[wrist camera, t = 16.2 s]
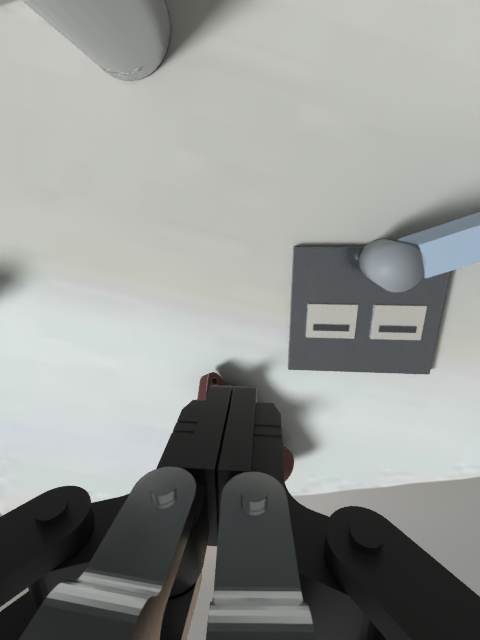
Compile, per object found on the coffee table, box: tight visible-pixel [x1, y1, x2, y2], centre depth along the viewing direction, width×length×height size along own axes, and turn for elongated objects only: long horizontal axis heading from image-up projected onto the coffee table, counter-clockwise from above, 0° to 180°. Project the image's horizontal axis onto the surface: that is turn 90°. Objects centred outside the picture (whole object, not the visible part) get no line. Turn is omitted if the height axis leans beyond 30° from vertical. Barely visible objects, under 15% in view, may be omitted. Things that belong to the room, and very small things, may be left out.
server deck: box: [288, 245, 450, 374], centre depth 39 cm, size 16×18×4 cm
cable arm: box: [359, 212, 480, 292], centre depth 31 cm, size 17×5×6 cm, turn 110°
